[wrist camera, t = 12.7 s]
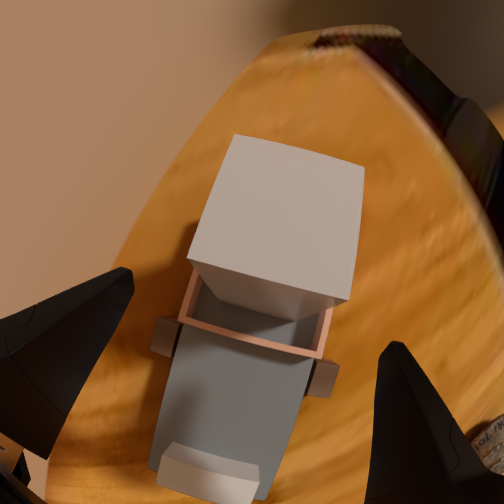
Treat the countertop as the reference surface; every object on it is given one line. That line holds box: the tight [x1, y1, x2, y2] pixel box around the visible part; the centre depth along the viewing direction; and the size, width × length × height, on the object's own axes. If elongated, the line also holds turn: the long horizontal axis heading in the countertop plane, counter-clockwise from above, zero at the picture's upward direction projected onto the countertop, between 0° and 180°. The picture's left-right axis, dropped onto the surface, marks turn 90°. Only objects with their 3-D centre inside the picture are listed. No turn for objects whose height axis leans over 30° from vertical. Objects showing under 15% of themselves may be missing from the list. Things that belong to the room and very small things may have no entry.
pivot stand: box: [149, 316, 340, 398], centre depth 18 cm, size 2×13×2 cm, turn 75°
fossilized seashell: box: [470, 414, 504, 475], centre depth 13 cm, size 11×10×7 cm
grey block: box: [187, 134, 365, 322], centre depth 13 cm, size 5×5×10 cm
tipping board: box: [147, 268, 334, 504], centre depth 16 cm, size 21×9×4 cm, turn 165°
